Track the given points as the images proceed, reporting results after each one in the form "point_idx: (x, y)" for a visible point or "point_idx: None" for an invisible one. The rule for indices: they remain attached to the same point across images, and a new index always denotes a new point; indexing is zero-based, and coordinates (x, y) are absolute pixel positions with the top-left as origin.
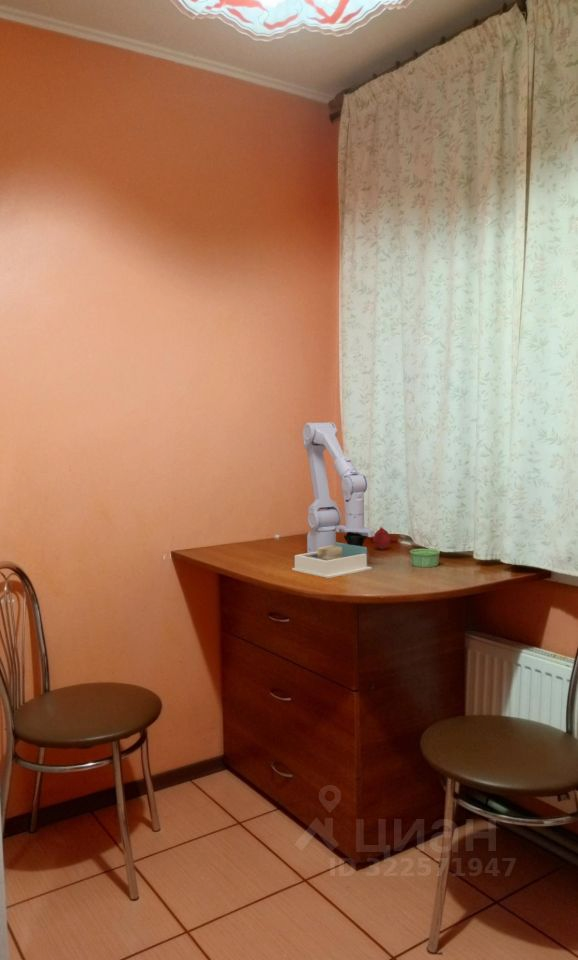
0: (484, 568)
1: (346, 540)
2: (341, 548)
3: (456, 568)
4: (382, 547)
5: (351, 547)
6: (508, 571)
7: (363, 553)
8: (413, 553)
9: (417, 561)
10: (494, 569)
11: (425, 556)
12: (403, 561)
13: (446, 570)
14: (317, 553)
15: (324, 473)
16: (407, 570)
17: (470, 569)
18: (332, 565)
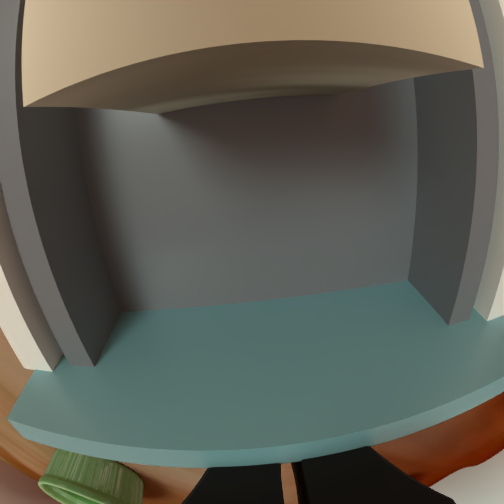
0: (30, 471)
1: (398, 484)
2: (43, 85)
3: (35, 459)
4: None
5: (242, 420)
6: (3, 461)
7: (50, 373)
8: (67, 487)
9: (64, 461)
10: (20, 468)
11: (42, 476)
12: (190, 478)
13: (13, 436)
14: (491, 9)
15: None
16: (19, 392)
17: (22, 459)
18: None
